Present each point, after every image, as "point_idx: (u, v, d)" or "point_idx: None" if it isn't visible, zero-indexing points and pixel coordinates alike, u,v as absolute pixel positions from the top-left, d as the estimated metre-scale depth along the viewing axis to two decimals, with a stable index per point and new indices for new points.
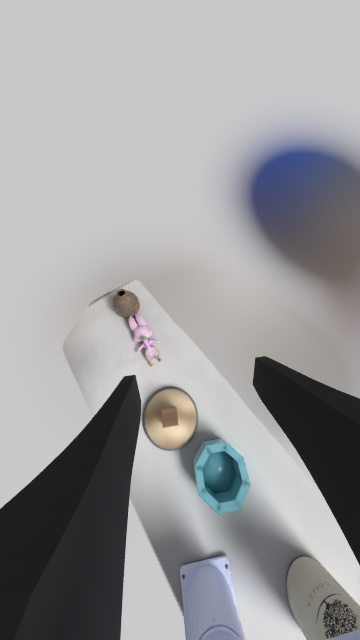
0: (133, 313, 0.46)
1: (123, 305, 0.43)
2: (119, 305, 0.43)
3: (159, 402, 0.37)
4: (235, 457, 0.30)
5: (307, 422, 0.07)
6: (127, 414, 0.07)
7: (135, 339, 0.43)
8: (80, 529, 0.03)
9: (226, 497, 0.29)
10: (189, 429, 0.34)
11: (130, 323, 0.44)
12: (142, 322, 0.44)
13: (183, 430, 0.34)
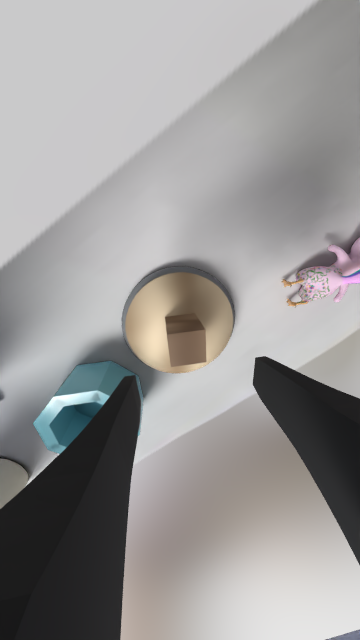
0: None
1: None
2: None
3: (209, 305, 0.16)
4: None
5: (307, 422, 0.07)
6: (127, 414, 0.07)
7: None
8: (80, 529, 0.03)
9: (63, 422, 0.17)
10: (157, 362, 0.18)
11: None
12: None
13: (156, 351, 0.17)
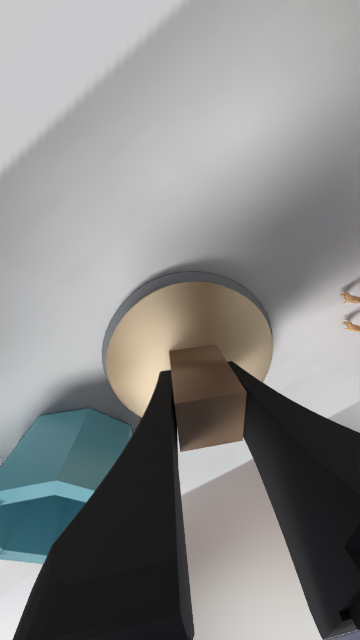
0: None
1: None
2: None
3: (238, 333, 0.10)
4: None
5: (259, 431, 0.06)
6: (173, 407, 0.07)
7: None
8: (176, 508, 0.04)
9: (14, 507, 0.11)
10: None
11: None
12: None
13: None
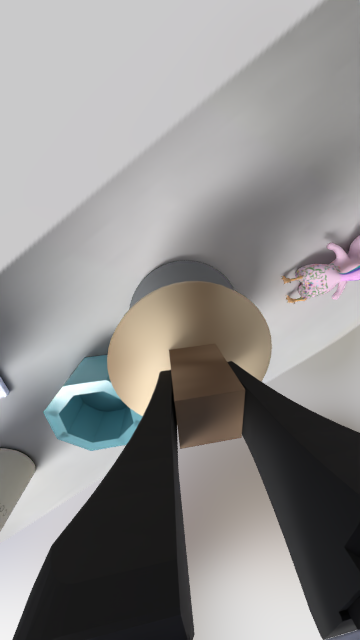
0: None
1: None
2: None
3: (237, 332, 0.11)
4: (124, 435, 0.18)
5: (259, 431, 0.06)
6: (173, 407, 0.07)
7: None
8: (176, 509, 0.04)
9: (71, 412, 0.18)
10: None
11: None
12: None
13: None
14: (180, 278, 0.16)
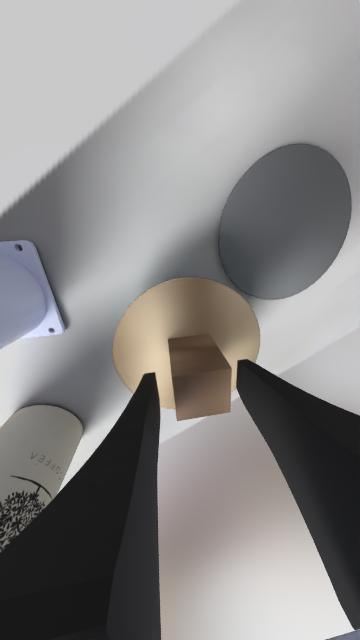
0: None
1: None
2: None
3: (228, 323, 0.12)
4: None
5: (281, 427, 0.07)
6: (152, 410, 0.07)
7: None
8: (134, 518, 0.04)
9: None
10: None
11: None
12: None
13: None
14: (292, 171, 0.13)
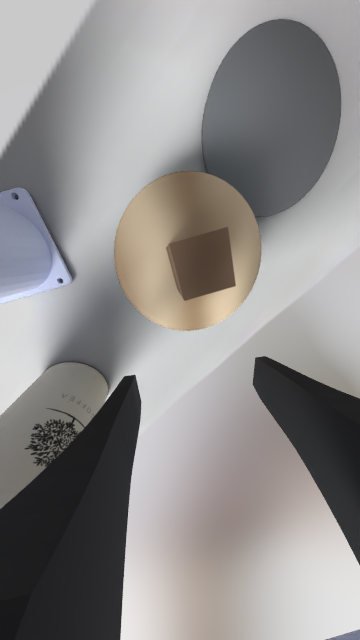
0: None
1: None
2: None
3: (224, 221, 0.12)
4: None
5: (307, 422, 0.07)
6: (127, 414, 0.07)
7: None
8: (80, 529, 0.03)
9: None
10: (167, 318, 0.14)
11: None
12: None
13: (163, 302, 0.13)
14: (267, 56, 0.12)
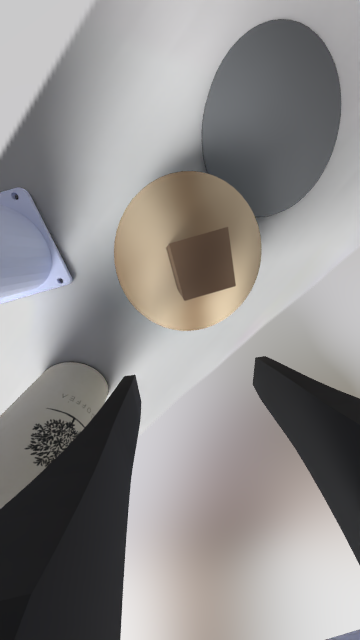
0: None
1: None
2: None
3: (224, 221, 0.12)
4: None
5: (307, 422, 0.07)
6: (127, 414, 0.07)
7: None
8: (80, 529, 0.03)
9: None
10: (167, 318, 0.14)
11: None
12: None
13: (163, 302, 0.13)
14: (267, 56, 0.12)
